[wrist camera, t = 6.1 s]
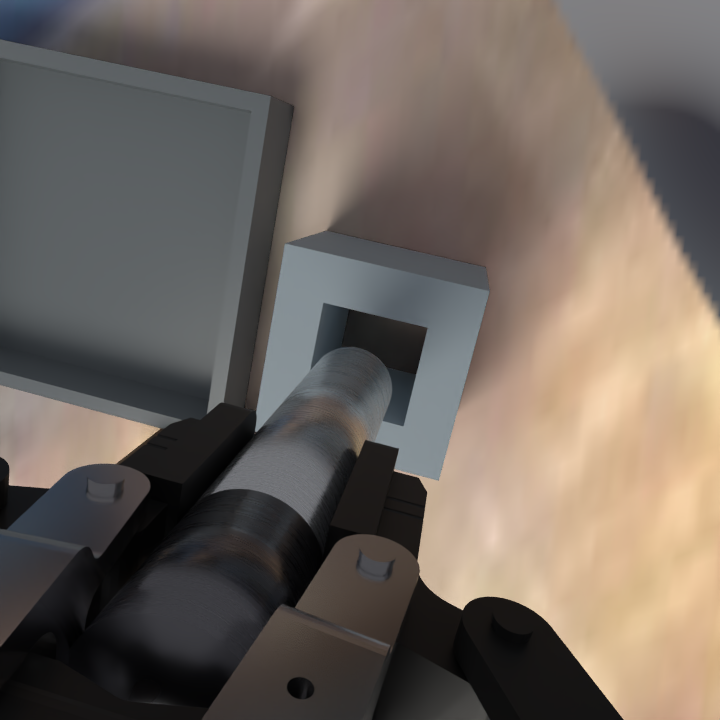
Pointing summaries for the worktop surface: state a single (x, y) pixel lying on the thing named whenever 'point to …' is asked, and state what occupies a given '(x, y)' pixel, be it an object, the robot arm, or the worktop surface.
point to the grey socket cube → (386, 299)
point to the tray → (132, 233)
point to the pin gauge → (239, 545)
